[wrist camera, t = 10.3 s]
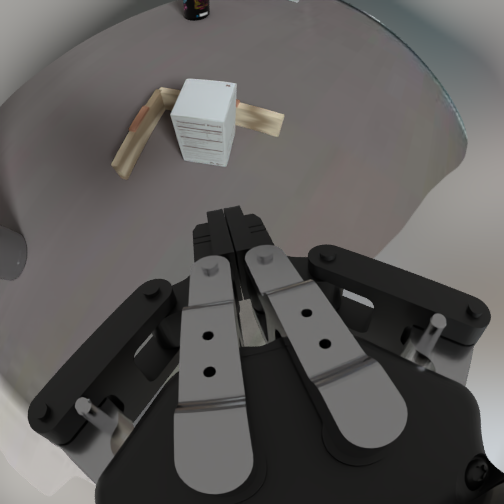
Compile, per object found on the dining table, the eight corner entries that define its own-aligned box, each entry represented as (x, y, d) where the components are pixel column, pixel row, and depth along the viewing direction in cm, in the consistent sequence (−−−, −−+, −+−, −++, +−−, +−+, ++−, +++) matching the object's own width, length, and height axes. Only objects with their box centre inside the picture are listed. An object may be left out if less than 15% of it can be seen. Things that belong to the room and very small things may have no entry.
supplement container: (198, 8, 53) (196, -20, 43) (215, 14, 52) (214, -16, 42) (179, 17, 52) (176, -12, 41) (196, 23, 51) (193, -8, 41)
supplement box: (194, 126, 45) (186, 76, 32) (236, 132, 45) (238, 82, 32) (182, 161, 43) (168, 114, 31) (226, 168, 43) (225, 121, 31)
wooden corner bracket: (121, 178, 42) (109, 163, 36) (162, 104, 45) (157, 84, 40) (251, 216, 42) (254, 203, 37) (279, 132, 45) (285, 112, 40)
